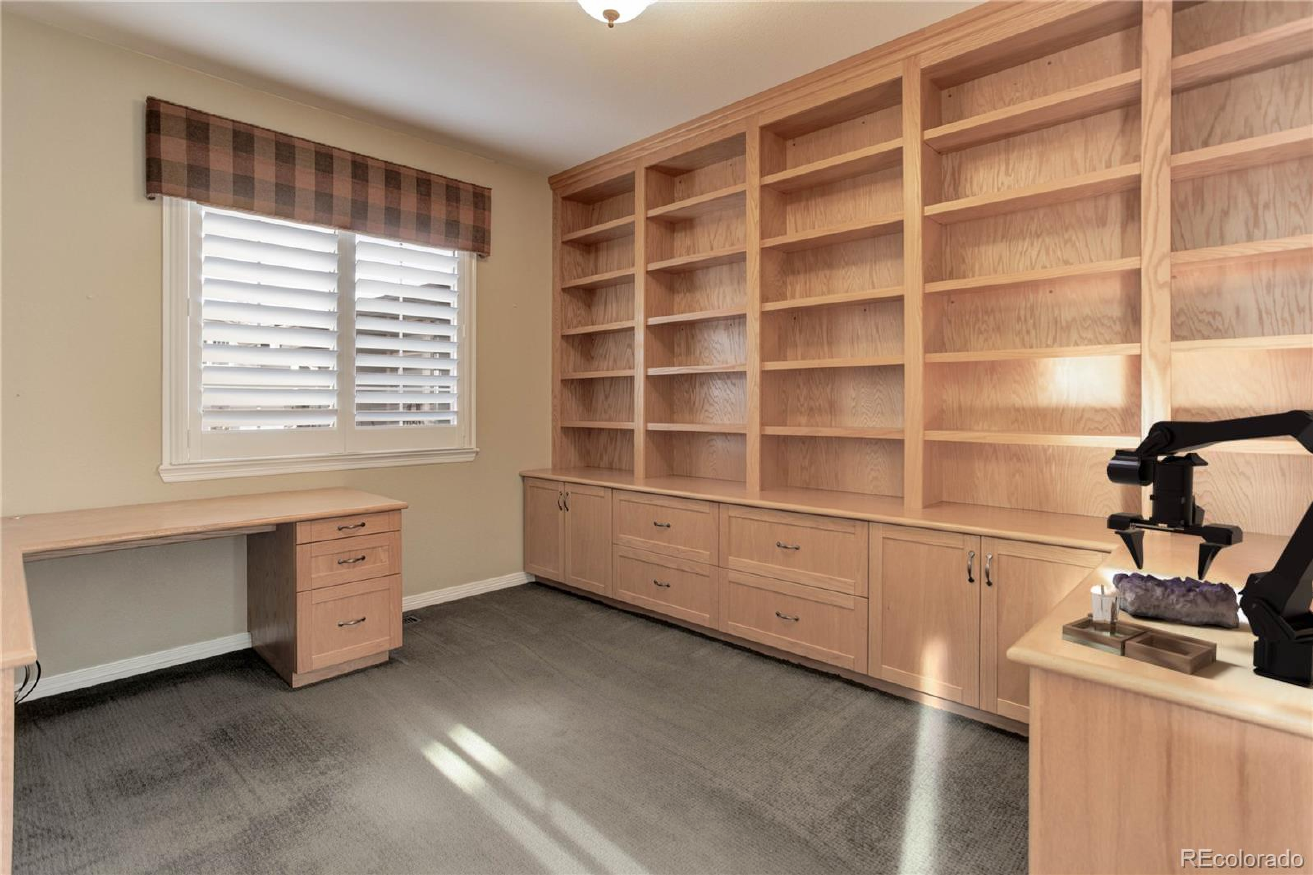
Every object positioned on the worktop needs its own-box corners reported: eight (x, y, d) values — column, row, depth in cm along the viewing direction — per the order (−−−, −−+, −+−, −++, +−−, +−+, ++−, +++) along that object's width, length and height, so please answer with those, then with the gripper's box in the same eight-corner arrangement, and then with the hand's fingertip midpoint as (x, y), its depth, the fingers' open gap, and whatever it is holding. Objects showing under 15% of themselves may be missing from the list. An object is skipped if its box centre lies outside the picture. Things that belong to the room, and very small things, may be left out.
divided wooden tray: (1216, 661, 108) (1216, 643, 108) (1190, 675, 102) (1190, 656, 102) (1090, 628, 124) (1090, 612, 124) (1061, 638, 118) (1062, 622, 118)
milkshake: (1085, 637, 116) (1087, 582, 116) (1093, 630, 120) (1094, 577, 120) (1116, 643, 113) (1117, 587, 113) (1122, 636, 117) (1124, 581, 116)
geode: (1229, 617, 131) (1235, 570, 129) (1245, 642, 121) (1252, 592, 119) (1108, 599, 141) (1112, 555, 139) (1114, 621, 131) (1118, 574, 129)
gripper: (1255, 492, 113) (1252, 579, 114) (1133, 481, 129) (1130, 558, 130) (1232, 496, 107) (1228, 589, 108) (1106, 485, 123) (1104, 566, 124)
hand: (1169, 574), depth 118 cm, fingers open, 9 cm apart
